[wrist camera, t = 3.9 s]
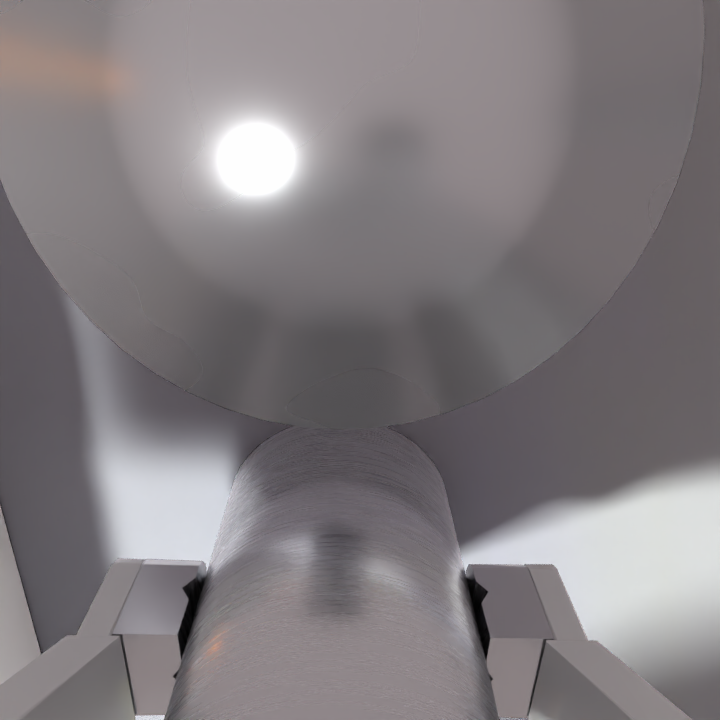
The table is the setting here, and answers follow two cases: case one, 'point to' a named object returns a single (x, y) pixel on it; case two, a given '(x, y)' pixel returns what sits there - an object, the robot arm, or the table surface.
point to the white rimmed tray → (13, 614)
